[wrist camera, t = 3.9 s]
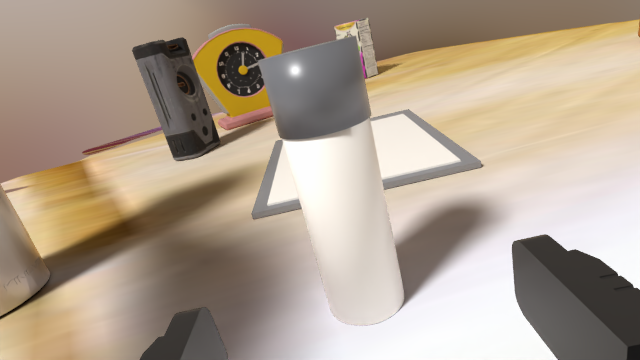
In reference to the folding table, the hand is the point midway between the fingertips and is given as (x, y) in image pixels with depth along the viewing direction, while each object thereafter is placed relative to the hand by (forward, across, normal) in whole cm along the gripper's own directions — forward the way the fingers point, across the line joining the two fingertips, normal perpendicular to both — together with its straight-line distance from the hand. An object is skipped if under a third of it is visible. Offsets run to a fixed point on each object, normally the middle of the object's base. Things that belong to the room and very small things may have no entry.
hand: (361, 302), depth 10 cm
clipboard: (+39, -2, +8) cm, 40 cm away
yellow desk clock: (+85, +17, +8) cm, 87 cm away
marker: (+10, 0, +8) cm, 13 cm away
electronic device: (+62, +25, +8) cm, 68 cm away
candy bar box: (+114, -13, +8) cm, 115 cm away
